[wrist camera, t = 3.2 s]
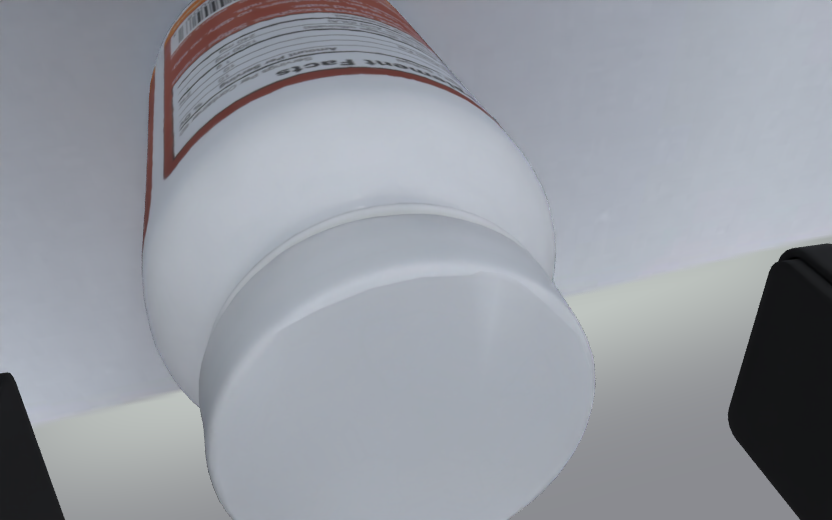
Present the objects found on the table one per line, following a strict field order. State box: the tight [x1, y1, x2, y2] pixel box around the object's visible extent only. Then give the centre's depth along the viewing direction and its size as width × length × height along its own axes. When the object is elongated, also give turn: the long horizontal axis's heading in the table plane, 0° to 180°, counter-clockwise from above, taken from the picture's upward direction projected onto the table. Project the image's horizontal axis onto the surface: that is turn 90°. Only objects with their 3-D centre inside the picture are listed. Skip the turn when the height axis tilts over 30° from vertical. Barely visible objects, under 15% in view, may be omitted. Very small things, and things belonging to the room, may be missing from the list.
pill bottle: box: [142, 0, 596, 520], centre depth 14 cm, size 6×6×11 cm
